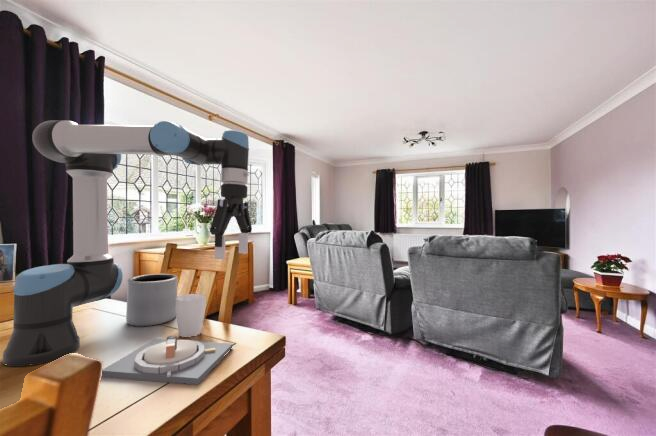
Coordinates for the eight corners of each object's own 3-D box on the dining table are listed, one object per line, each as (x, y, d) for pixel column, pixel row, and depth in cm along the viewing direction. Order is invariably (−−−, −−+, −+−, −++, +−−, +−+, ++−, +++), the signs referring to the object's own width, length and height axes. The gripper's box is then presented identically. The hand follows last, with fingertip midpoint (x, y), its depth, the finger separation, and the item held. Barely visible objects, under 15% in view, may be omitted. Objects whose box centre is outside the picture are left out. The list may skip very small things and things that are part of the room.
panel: (98, 378, 70) (99, 365, 70) (155, 343, 89) (155, 333, 89) (196, 386, 67) (196, 373, 67) (232, 348, 87) (232, 338, 87)
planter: (186, 315, 115) (187, 275, 115) (153, 330, 100) (154, 283, 100) (151, 311, 119) (152, 272, 119) (114, 325, 103) (115, 280, 103)
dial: (147, 350, 80) (148, 332, 80) (196, 344, 85) (196, 326, 85) (140, 372, 69) (141, 350, 70) (196, 363, 74) (197, 342, 74)
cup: (168, 338, 93) (169, 299, 93) (186, 327, 102) (187, 292, 102) (194, 340, 92) (195, 301, 92) (210, 330, 101) (211, 294, 101)
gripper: (223, 178, 75) (221, 262, 75) (263, 188, 100) (261, 252, 100) (196, 178, 77) (194, 260, 77) (242, 188, 101) (240, 250, 101)
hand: (232, 256), depth 88 cm, fingers open, 13 cm apart
